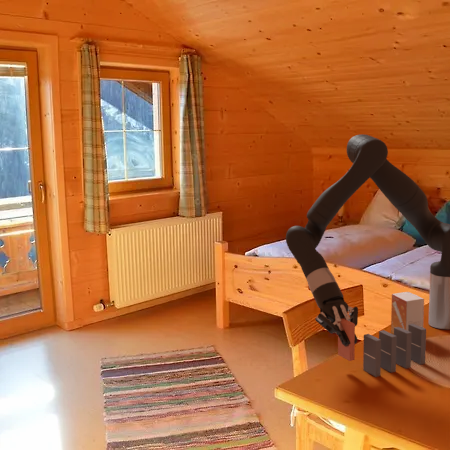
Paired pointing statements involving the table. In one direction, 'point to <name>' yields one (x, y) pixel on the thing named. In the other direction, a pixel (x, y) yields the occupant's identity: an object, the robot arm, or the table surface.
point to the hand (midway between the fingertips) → (351, 344)
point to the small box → (406, 310)
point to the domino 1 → (349, 328)
